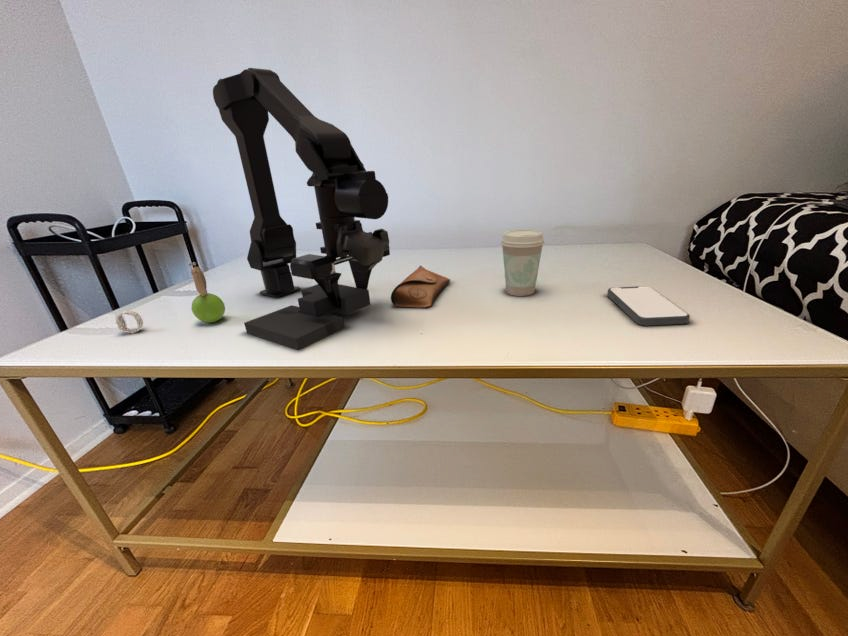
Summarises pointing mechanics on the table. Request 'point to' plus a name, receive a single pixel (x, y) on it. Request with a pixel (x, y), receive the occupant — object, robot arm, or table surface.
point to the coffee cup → (521, 260)
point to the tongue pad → (320, 304)
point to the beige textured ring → (122, 324)
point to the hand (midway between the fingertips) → (350, 303)
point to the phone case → (647, 306)
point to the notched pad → (293, 327)
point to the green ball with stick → (205, 299)
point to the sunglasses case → (418, 289)
